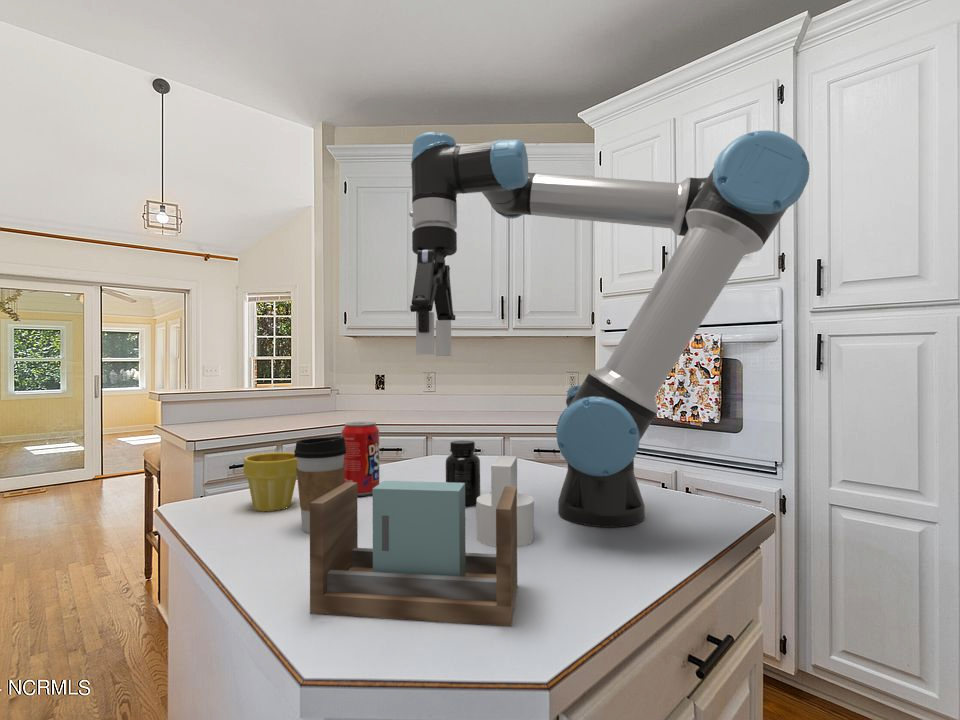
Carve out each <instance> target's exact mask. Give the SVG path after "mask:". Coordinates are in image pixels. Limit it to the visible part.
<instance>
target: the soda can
mask: <svg viewBox="0 0 960 720" xmlns="http://www.w3.org/2000/svg"><path fill="white" fill-rule="evenodd" d="M340 437H344V439H345V446H346V452H347V453H346V454H344V464H343V465H344V466H345V467H344V478H343V484H344V483H346V482H357V497H367V496H372V495H373V488H374V487H376V486H377V485H379V484H380V429H379V428H378V427H377V423H376V421H350V422H345V423H344V427H343V429H342V430H341V435H340Z"/></svg>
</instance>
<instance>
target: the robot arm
mask: <svg viewBox="0 0 960 720" xmlns="http://www.w3.org/2000/svg"><path fill="white" fill-rule="evenodd" d="M411 150H412V153H411V163H410V166H411V168H410V169H411V188H412V189H411V192H412V193H411V194H412V198H411V200H412V201H411V203H412V205H411V206H412V208H411V209H412V210H410V211H409V214H408V215H409V217H410V218H412V227H413V228H414V230H413V231H412V233H411V248H412V252H413V253H414V254H415V255H417V257H416V259H417V260H416V269H415V274H414V275H415V277H414V283H413V290H412V299H411V304H410V306H409V307H410V308H409V309H410V312H411V313H415V343H416V344H415V347H416V348H415V349H416V350H415V351H416V353H415V354H416V355H435V357H452V321H456V314H455V313H454V309H453V300H452V299H453V298H452V287H451V280H450V279H451V277H450V276H451V274H450V273H451V271H450V270H451V268H450V265H448V264H446V259H445V258H446V257H449V256H453V255H455V254H456V253H457V251H458V250H457V249H458V246H457V245H458V239H457V238H458V237H457V232H456V229H457V227H458V207H457V206H458V204H457V198H458V197H457V196H458V194H459V195H460V194H473V193H481V194H482V195H483V196H484V197H485V198H486V199H487V201H488V202H489V204H490V205H491V208H492V209H493V210H494V211H495V212H496V213H497V214H499V215H501V216H502V217H504V218H506V219H511V220H512V219H517V218H520V217H522V216H524V215H527V216H540V217H548V218H559V219H569V220H577V221H578V220H579V221H589V222H599V223H611V224H621V225H631V226H642V227H649V228H650V227H653V228H663V229H670V230H672V231H673V233H674V234H675V235H676V236H680V237H681V236H682V239H681V240H680V243H679V245H678V246H677V248H676V250H675V251H674V252H673V254H672V256H671V258H670V259H669V261H668V262H667V264H666V265H665V267H664V268H663V270H662V272H661V274H660V275H659V277H658V279H657V280H656V282H655V284H654V285H653V287H652V289H651V290H650V292H649V293H648V295H647V296H646V298H645V300H644V302H643V303H642V304H641V307H640V308H639V310H638V312H637V313H636V315H635V317H634V318H633V320H631V323H630V325H629V326H628V328H627V329H626V331H625V332H624V334H623V336H622V338H621V339H620V341H619V342H618V344H617V346H616V347H615V349H614V351H613V353H612V354H611V355H610V357H609V359H608V360H607V362H606V364H605V365H604V367H601V368H598V369H594V370H590V371H589V373H588V374H587V375H586V377H585V379H584V381H583V382H582V384H581V385H572V386H570V387H568V389H567V393H566V399H565V403H566V404H565V405H566V408H565V409H564V410H563V411H562V412H561V414H560V415H559V418H558V421H557V426H556V433H555V435H556V442H557V447H558V450H559V452H560V453H561V455H562V457H563V458H564V460H565V461H566V462H567V470H566V475H565V478H564V481H563V484H562V487H561V491H560V494H559V497H558V501H557V503H558V504H557V505H558V507H557V509H558V510H557V511H558V512H557V513H558V515H559V516H560V517H561V518H563V519H564V520H567V521H570V522H573V523H575V524H580V525H585V526H592V527H601V528H602V527H603V528H605V527H606V528H610V527H611V528H612V527H613V528H616V527H617V528H618V527H627V526H628V527H629V526H632V525H637V524H640V523H641V522H643V521H644V520H645V518H646V515H645V514H646V512H645V511H646V507H645V502H644V499H643V497H642V494H641V493H642V492H641V489H640V486H639V484H638V482H637V478H636V474H635V458H636V455H637V453H638V449H639V447H640V441H641V439H642V438H643V436H644V434H645V433H646V431H647V429H649V426H650V425H651V423H652V422H653V420H654V418H655V417H656V416H657V415H658V412H659V409H658V405H657V401H656V396H657V394H658V392H660V391H659V390H660V389H661V388H662V386H663V384H664V383H665V381H666V380H667V378H668V377H669V375H670V373H671V372H672V370H673V368H674V367H675V366H676V364H677V363H678V361H679V359H680V357H681V355H682V354H683V353H684V352H685V350H686V348H687V347H688V345H689V343H690V342H691V340H692V339H693V337H694V335H695V334H696V332H697V330H699V328H700V326H701V324H702V323H703V321H704V319H706V316H707V315H708V313H709V312H710V310H711V308H712V307H713V306H714V304H715V303H716V300H717V299H718V298H719V296H720V294H721V293H722V291H723V289H724V288H725V287H726V285H727V283H728V282H729V280H730V278H731V277H732V276H733V273H734V272H735V270H736V268H737V267H738V266H739V264H740V263H741V261H742V259H743V258H744V256H746V255H749V254H753V253H757V252H759V251H761V250H762V249H763V246H765V244H766V242H767V241H768V240H769V239H770V236H771V235H772V233H773V231H774V230H775V228H776V226H778V224H779V222H780V221H781V219H782V217H783V216H784V214H785V213H786V211H787V210H788V209H789V208H790V207H792V206H793V205H794V204H795V203H796V202H797V201H798V200H799V199H800V197H801V196H802V195H803V193H804V190H805V188H806V186H807V185H808V184H807V183H808V181H809V177H810V162H809V160H808V156H807V155H806V152H805V150H804V149H803V147H802V146H801V144H799V142H797V141H796V140H795V139H794V138H792V137H791V136H788V135H787V134H784V133H782V132H778V131H774V130H757V131H756V130H755V131H752V132H749V133H745V134H743V135H741V136H739V137H737V138H735V139H734V140H732V141H731V142H730V143H729V144H727V146H726V147H725V148H723V150H721V152H720V153H719V154H718V156H717V157H716V160H715V161H714V163H713V168H712V170H711V171H710V173H709V175H708V176H707V177H698V178H697V177H687V178H685V179H684V180H682V181H681V182H668V181H667V182H666V181H651V180H640V179H639V180H637V179H624V178H613V177H612V178H610V177H596V176H585V175H584V176H583V175H572V174H569V175H568V174H567V175H566V174H557V173H555V174H554V173H540V172H529V159H528V153H527V147H526V145H525V143H524V142H523V141H522V140H520V139H498V140H494V141H487V142H480V143H479V142H478V143H472V144H465V145H457V142H456V139H455V138H454V137H453V136H451V135H450V134H448V133H445V132H435V131H427V132H424V133H422V134H420V135H419V134H418V136H416V137H415V139H414V140H413V143H412V149H411ZM433 307H435V312H436V319H437V320H435V312H433Z"/></svg>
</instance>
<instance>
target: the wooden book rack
mask: <svg viewBox="0 0 960 720" xmlns="http://www.w3.org/2000/svg"><path fill="white" fill-rule="evenodd" d="M517 493H518V486H517V487H509V486H505V487H504V489H503V492H502V494H501V497H500V500H499V502H498V505H497V508H496V547H495V551H496V552H495V553H482V552H481V553H478V552H466V576H465V577H460V576H441V575H421V574H402V573H382V572H373V547H372V548H371V547H370V548H367V547H358V546H359V545H358V544H359V543H358V541H359V539H358V536H359V535H358V530H359V529H358V496H357V482H346V483H344V484H342V485H341V486H339V487H337V488H335V489H334V490H332V491H330V492H328V493H326V494H325V495H323V496H321V497H319V498H318V499H316V500H314V501H312V502H311V503H310V533H309V613H310V614H313V613H314V614H316V615H328V616H329V615H331V616H348V617H362V618H375V619H376V618H377V619H378V618H379V619H392V620H394V619H395V620H396V619H397V620H409V621H426V622H440V623H453V624H454V623H456V624H457V623H458V624H468V625H469V624H471V625H487V626H501V627H502V626H503V627H512V623H513V616H514V611H515V610H514V609H515V603H516V598H517V597H516V596H517V591H518V547H517Z"/></svg>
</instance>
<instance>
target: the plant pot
mask: <svg viewBox="0 0 960 720" xmlns="http://www.w3.org/2000/svg"><path fill="white" fill-rule="evenodd" d="M294 454H295V453H294V452H290V451H289V452H286V451H285V452H284V451H283V452H282V451H281V452H280V451H278V452H276V451H275V452H262V453H255V454H251V455H247V456H245V457H244V459H243V476H244V477H245V478H247V483H248V487H249V493H250V497H251V503H252V508H253V509H254V510H255V511H257V510H258V511H257V512H265V511H267V512H275V511H274V510H277V511H281V510H280V509H282V510H284V508H286V507H288V506H289V507H291V505H292V500H293V495H294V490H295V488H296V487H295V486H296V481H297V471H296V469H297V468H298V467H297V457H295V456H294ZM289 507H288V508H289ZM286 509H287V508H286Z"/></svg>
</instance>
